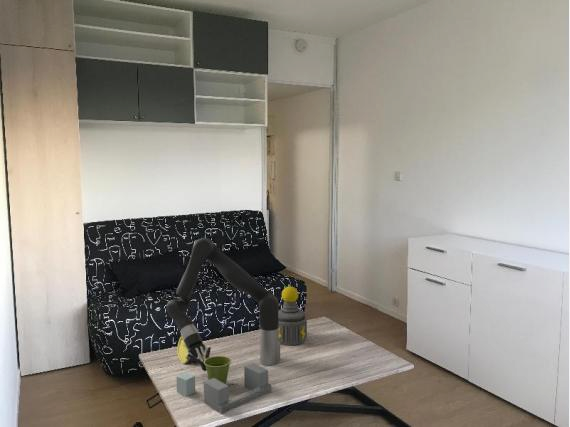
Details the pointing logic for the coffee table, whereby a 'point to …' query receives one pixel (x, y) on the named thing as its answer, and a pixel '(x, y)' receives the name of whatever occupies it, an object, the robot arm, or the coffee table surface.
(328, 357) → the coffee table surface
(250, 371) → the block
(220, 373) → the plant pot
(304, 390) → the coffee table surface
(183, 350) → the plastic component
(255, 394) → the rail strip
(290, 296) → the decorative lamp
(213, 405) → the block
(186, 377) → the block
